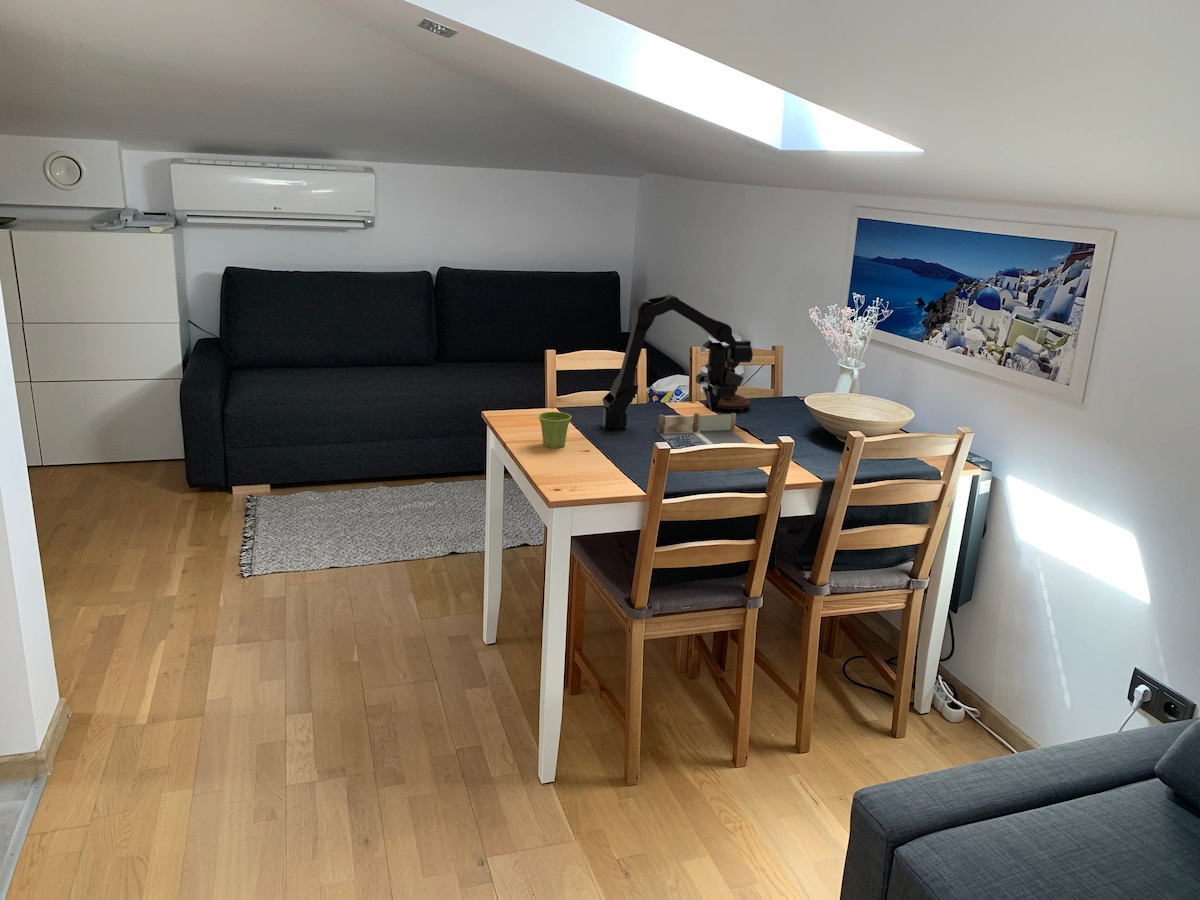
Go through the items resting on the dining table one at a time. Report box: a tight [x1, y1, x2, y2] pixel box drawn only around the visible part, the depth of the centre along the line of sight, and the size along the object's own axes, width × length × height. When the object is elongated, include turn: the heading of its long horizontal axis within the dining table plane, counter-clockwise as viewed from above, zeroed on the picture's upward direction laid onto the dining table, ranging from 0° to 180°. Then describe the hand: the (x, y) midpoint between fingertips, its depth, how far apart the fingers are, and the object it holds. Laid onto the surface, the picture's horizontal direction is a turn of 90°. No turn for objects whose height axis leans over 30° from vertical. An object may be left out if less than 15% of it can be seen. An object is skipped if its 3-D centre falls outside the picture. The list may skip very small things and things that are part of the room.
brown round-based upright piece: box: [705, 358, 751, 413], centre depth 311 cm, size 15×15×20 cm
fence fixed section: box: [657, 412, 700, 434], centre depth 282 cm, size 13×2×6 cm, turn 105°
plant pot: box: [537, 411, 572, 449], centre depth 263 cm, size 9×9×9 cm
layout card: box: [658, 426, 749, 449], centre depth 279 cm, size 24×21×1 cm
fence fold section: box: [698, 412, 737, 431], centre depth 285 cm, size 12×2×5 cm, turn 105°
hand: (712, 411), depth 290 cm, fingers closed
